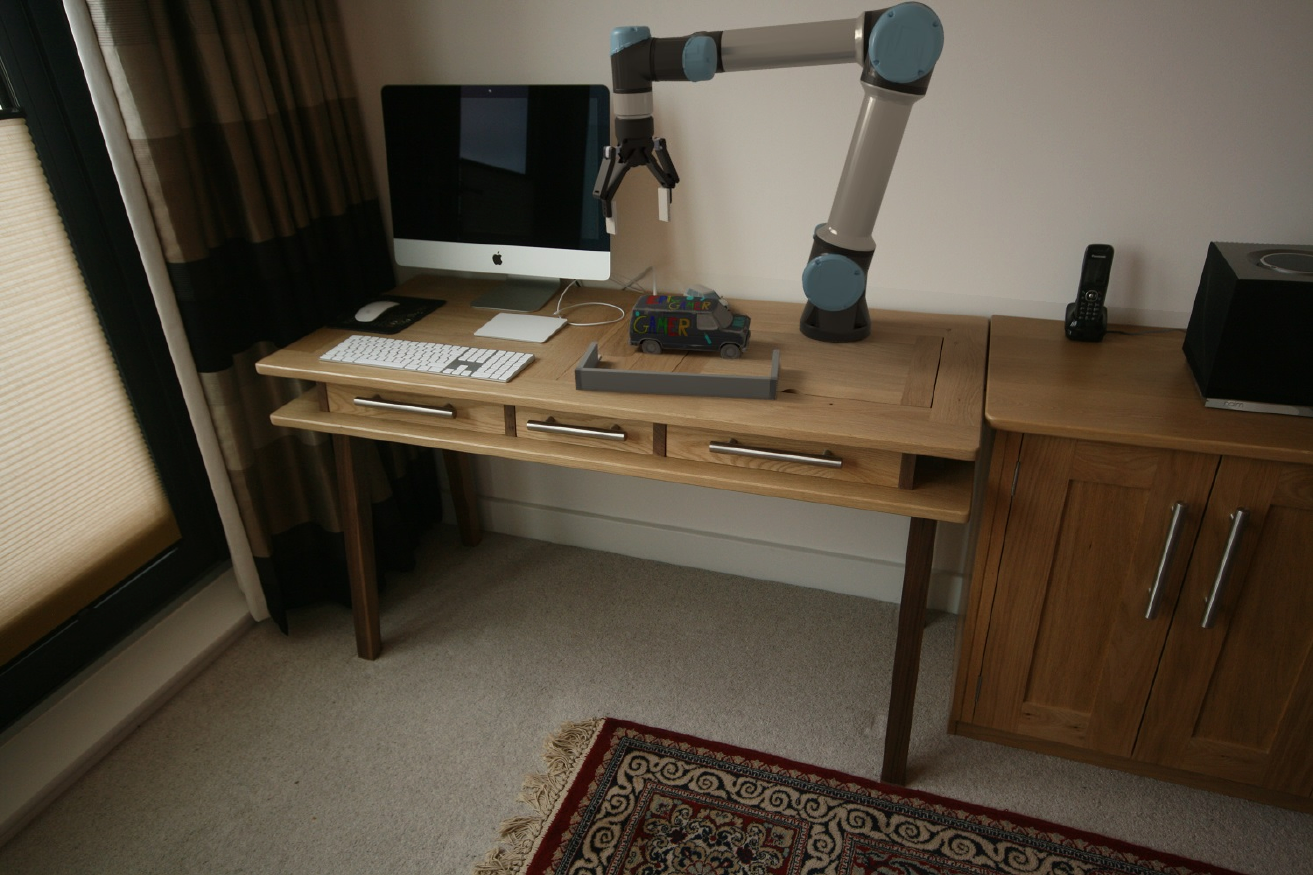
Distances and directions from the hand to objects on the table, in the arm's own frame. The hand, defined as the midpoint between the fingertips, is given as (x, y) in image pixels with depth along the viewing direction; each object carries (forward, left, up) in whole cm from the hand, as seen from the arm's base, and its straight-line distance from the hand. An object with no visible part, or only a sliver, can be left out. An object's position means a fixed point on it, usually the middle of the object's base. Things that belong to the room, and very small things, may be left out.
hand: (639, 227), depth 175 cm
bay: (-11, +20, -24) cm, 33 cm away
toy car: (-12, -19, -24) cm, 33 cm away
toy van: (-11, +4, -24) cm, 27 cm away
